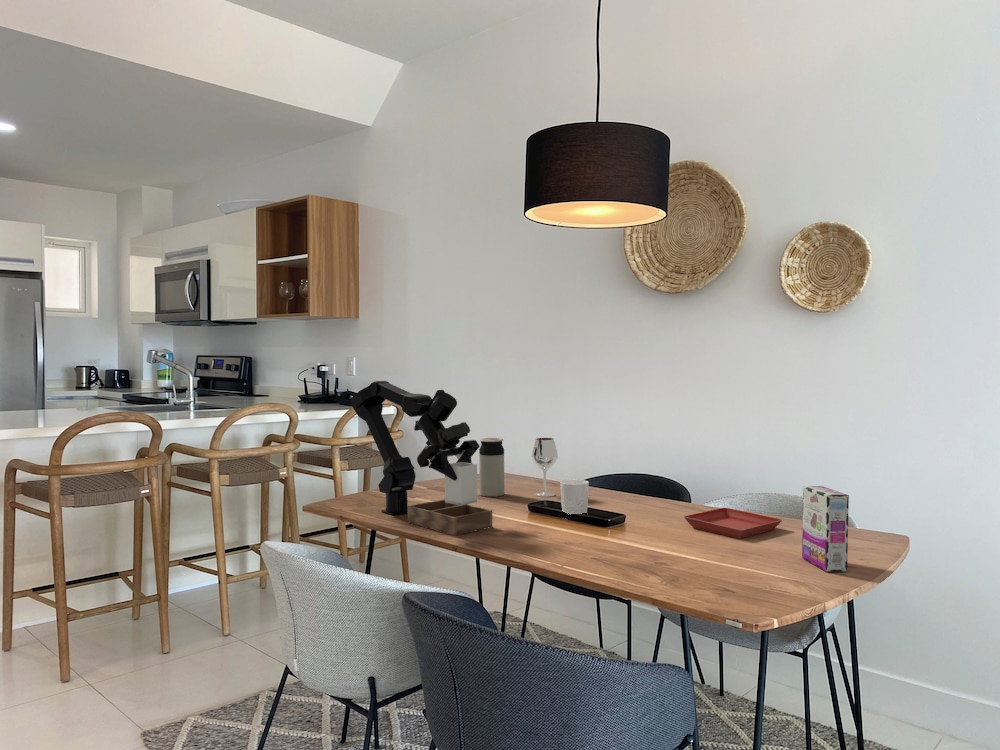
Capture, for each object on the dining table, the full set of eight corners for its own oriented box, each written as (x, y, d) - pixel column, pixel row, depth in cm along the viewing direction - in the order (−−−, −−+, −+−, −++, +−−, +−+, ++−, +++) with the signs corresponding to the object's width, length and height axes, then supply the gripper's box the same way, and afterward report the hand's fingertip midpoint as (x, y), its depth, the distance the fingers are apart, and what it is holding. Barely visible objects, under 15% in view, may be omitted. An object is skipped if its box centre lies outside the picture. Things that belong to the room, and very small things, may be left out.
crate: (407, 522, 208) (407, 505, 207) (445, 515, 216) (445, 498, 216) (454, 535, 193) (453, 517, 193) (492, 527, 202) (492, 509, 202)
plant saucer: (783, 531, 197) (783, 518, 197) (741, 542, 186) (741, 529, 186) (724, 518, 211) (724, 507, 211) (682, 528, 200) (682, 516, 200)
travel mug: (497, 498, 240) (497, 441, 239) (475, 496, 243) (474, 439, 243) (508, 493, 247) (508, 438, 246) (486, 491, 251) (486, 437, 250)
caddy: (445, 502, 201) (444, 464, 200) (461, 498, 205) (461, 461, 205) (461, 505, 197) (461, 467, 196) (477, 502, 201) (477, 464, 201)
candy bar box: (849, 572, 160) (850, 494, 160) (826, 573, 160) (827, 495, 159) (822, 557, 171) (823, 485, 171) (800, 558, 171) (801, 485, 170)
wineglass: (558, 497, 240) (558, 440, 240) (532, 497, 240) (532, 440, 240) (556, 492, 248) (556, 437, 248) (531, 492, 249) (531, 437, 248)
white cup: (587, 521, 208) (587, 484, 207) (558, 520, 209) (558, 484, 209) (590, 515, 215) (589, 479, 215) (562, 513, 217) (562, 479, 217)
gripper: (424, 415, 196) (454, 462, 189) (474, 410, 210) (504, 454, 203) (404, 443, 201) (432, 490, 195) (454, 436, 215) (483, 480, 208)
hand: (464, 477), depth 200 cm, fingers closed on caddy, 6 cm apart
